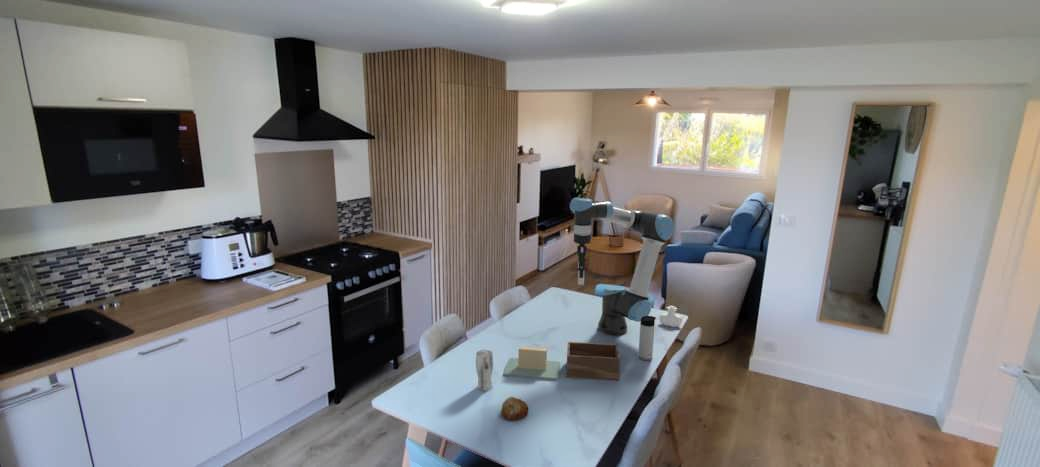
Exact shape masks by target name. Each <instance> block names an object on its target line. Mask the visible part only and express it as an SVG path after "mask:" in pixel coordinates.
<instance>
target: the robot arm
mask: <svg viewBox="0 0 1040 467" xmlns="http://www.w3.org/2000/svg"><path fill="white" fill-rule="evenodd" d="M569 208H570V211H571V212H572V213H574V216H573V219H574V220H573V222H574V223H573V225H572V229H573V233H574V234H573V243H575V244H578V245H577V248H576V250H577V259H578V262H577V268H576V271H577V285H578V286H579V285H581V286H585V270H586V268H585V262H586V256H587V246H586V245H588V244H591V241H592V235H591V234H592V221H593V220H602V221H607V222H610V223H613V224H618V225H621V226H622V227H623V228H625V229H629V230H631V231H633V232H636V233H638V234H641V239H642V241H643V242H642V246H641V249H640V252H639V256H638V259H637V263H636V266H635V270H634V273H633V275H632V276H633V277H632V279H631V282H630V286H629V288H626V287H625V286H621V285H610V286H606V287H604V288H603V290H602V291H603V292H602V301H601V302H602V305H601V316H600V318H599V320H598V324H597V329H598V331H600V332H601V333H604V334H607V335H612V336H613V335H615V336H617V335H624V334H626V333H627V332H628V324H627V320H626V318H627V319H628V320H630V321H633V322H636V323H637V322H638V323H639V322H640V323H641V318H642V317H643V316H650V314H651V310H652V305H651V302H650V301H649V300H650V295H649V293H648V291H649V287H650V285H651V282H652V277H653V273H654V270H655V268H656V265H657V264H656V263H657V261H658V257H659V255H660V254H659V253H660V250H661V247H662V246H663V245H665V244H666V241H668V240H670V239H671V238H672V237H673V235H674V233H675V223H674V221H673V219H672V218H671V217H670V216H668V215H666V214H663V213H655V212H650V211H646V210H645V211H644V210H635V209H634V210H633V209H623V208H619V207H614V204H613V203H612V202H611V201H606V200H603V201H598V200H593V199H590V198H582V197H574V198H572V199H571V201H570V203H569Z"/></svg>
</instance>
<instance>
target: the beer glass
mask: <svg viewBox="0 0 1040 467" xmlns="http://www.w3.org/2000/svg"><path fill="white" fill-rule="evenodd" d="M493 355H494V353H493V351H491V350H489V349H480V350H478V351H477V352H475V370H476V373H477V381H478V382H477V390H479V391H481V392H488V391H490V390H492V388H493V382H492V376H493V375H492V374H493V369H494V368H493V367H494V356H493Z"/></svg>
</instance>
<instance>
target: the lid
mask: <svg viewBox="0 0 1040 467" xmlns="http://www.w3.org/2000/svg"><path fill="white" fill-rule="evenodd" d="M547 352H548V348H547V347H538V346H537V347H536V346H523V345H520V346H519V347H518V357H509V359H508V360H507V364H506V366H505V369H504V372H503V377H509V376H512V378H522V379H533V380H534V379H535V380H546V381H554V382H555V381H556V382H557V381H558V378H559V371H560V365H561V361H554V360H548V357H547V356H548V353H547Z"/></svg>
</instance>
